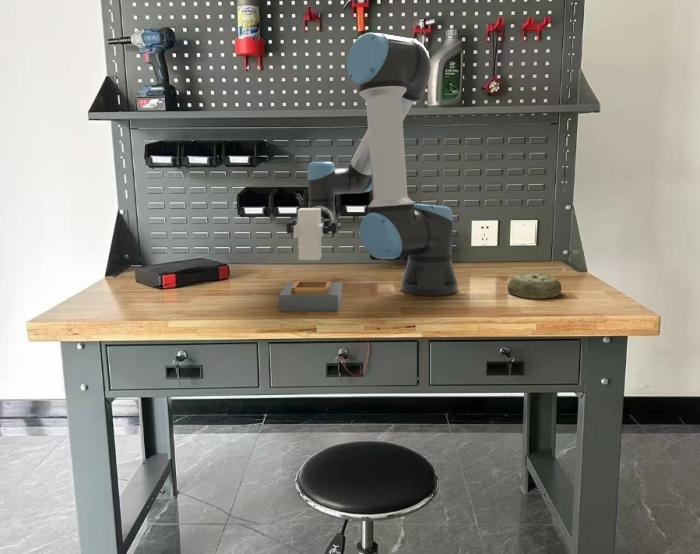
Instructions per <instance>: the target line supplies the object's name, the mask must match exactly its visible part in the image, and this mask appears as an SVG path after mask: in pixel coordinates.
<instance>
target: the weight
mask: <svg viewBox="0 0 700 554" xmlns="http://www.w3.org/2000/svg"><path fill="white" fill-rule="evenodd" d="M507 292H508V293H509V294H511V295H515V296H517V297H519V298H523V299H535V300H544V299H549V298H551V299H553V298H555V297H557V296H558V295H560V294H561V293H562V284H561V282H560V281H559V279H558V278H557V277H555V276H554V275H549V274H545V273H537V272H536V273H535V272H534V273H533V272H523V273H516V274H514V275H512V276H511V277H510V279H509V280H508V283H507Z"/></svg>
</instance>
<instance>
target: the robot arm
mask: <svg viewBox="0 0 700 554" xmlns="http://www.w3.org/2000/svg"><path fill="white" fill-rule="evenodd" d="M431 65H432V64H431V59H430V56H429V53H428V50H427V49H426V48H425V46H424V45H423V44H422V43H421V42H420V41H419V40H416V39H414V38H411V37H404V36H403V37H402V36H396V35H390V34H385V33H382V32H366V33H364V34H361V35H360V36H358V38H357V39H356V40H354V42H353V44H352V47H351V48H350V51H349V52H348V56H347V61H346V67H347V73H348V76H349V78H351V79H350V80H351V81H352V82H354V83H355V84H358V90H359V91H358V93H359V94H358V95H359V96H360V97H362V99H363V100H364V101H365V102H366V118H367V119H366V120H367V129H366V132H365V134H364V135H363V137H362V139H361V141H360V143H359V145H358V147H357V149H356V151H355V153H354V155H353V156H352V158H351V160H350V162H349V164H348V166H347V167H335V164H334V162H333V161H311V162H310V163H309V164H308V169H307V184H308V208H321V224H320V225H319V226H318V238H321V239H322V238H323V236H324V235H328V234H330V233H331V234H333V235H336V234H337V233H338V231H339V230H340V229H342V226H341V225H342V223H341V222H342V219H341V218H336V217H337V212H336V205H335V203H336V202H335V201H336V195H343V194H346V195H347V194H363V193H368V192H371V191H372V199H371V201H370V203H369V204H368V205H367V214H366V215H365V216H363V217H362V219H361V223H360V225H359V237H360V240H361V244H362V245H363V247H364V248H365V250H366V251H367V252H368V253H369V254H370V255H371V257H373V258H376V259H379V260H394V259H397V258H402V257H407V264H406V267H405V270H404V271H403V272H404V273H403V276H402V277H401V278H402V279H401V281H400V290H401V291H402V292H403V293H406V294H409V295H417V296H427V297H431V296H433V297H436V296H437V297H438V296H447V295H452V294H454V293H456V292H457V291H458V286H459V285H458V280H457V276H456V272H455V270H454V267H453V263H452V252H453V251H452V249H453V248H452V247H453V223H454V220H453V210H452V209H451V208H450V207H448V206H445V205H444V206H443V205H435V204H434V205H432V204H421V203H415V202H414V201H413V200H412V199H411V198H410V197H409V195H408V185H407V184H408V183H407V171H406V169H407V167H406V166H407V165H406V156H405V155H406V154H405V139H404V138H405V137H404V136H405V135H404V120H405V118H406V116H407V114H408V113H409V111H410V109H411V107H412V106H413V105H414V103H417V102H419V101H420V100H421V98H422V96H423V95H424V93H425V91H426V89H427V86H428V83H429V81H430V76H431V69H432V67H431ZM285 224H286V234H293V238H294V239H298V218H297V219H296V218H290V219H289V221H287V222H286V223H285Z"/></svg>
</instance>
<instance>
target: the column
mask: <svg viewBox="0 0 700 554" xmlns="http://www.w3.org/2000/svg"><path fill="white" fill-rule="evenodd" d="M297 222H298V237H297V239H298V260H299V261H320V260H321V258H322V256H323V253H322V251H323V250H322V238H318V226H319V225H320V224H321V208H309V207H300V208H299V209H297Z"/></svg>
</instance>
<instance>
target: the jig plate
mask: <svg viewBox="0 0 700 554" xmlns="http://www.w3.org/2000/svg"><path fill="white" fill-rule="evenodd" d="M342 300H343V282H333V281H332V280H295V282H287V284H286V285H285V286H284V288H283V289H282V290H281V291H280V293H279V294H278V306H279V307H278V309H279V312H311V313H312V312H314V313H315V312H316V313H317V312H319V313H320V312H329V313H330V311H333V312H332V313H335V312H334V311H338V312H339V310H340V307H341V303H342Z"/></svg>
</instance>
